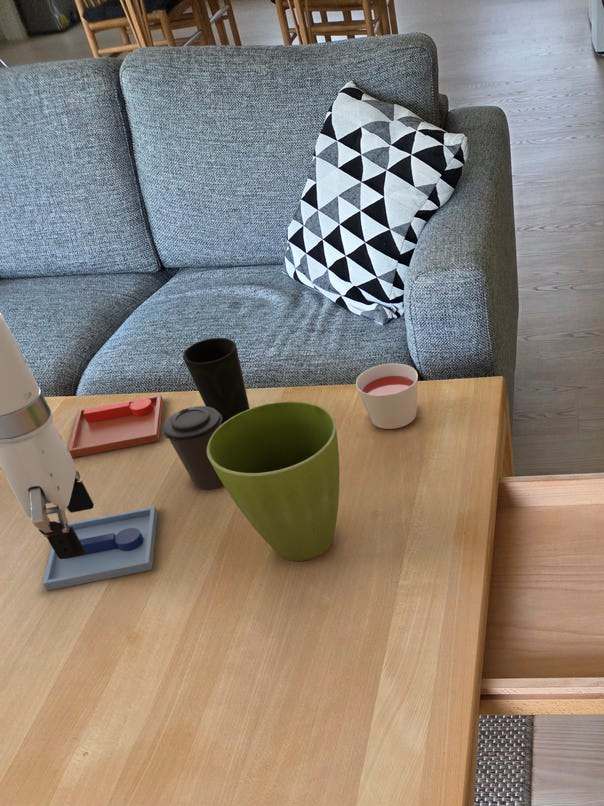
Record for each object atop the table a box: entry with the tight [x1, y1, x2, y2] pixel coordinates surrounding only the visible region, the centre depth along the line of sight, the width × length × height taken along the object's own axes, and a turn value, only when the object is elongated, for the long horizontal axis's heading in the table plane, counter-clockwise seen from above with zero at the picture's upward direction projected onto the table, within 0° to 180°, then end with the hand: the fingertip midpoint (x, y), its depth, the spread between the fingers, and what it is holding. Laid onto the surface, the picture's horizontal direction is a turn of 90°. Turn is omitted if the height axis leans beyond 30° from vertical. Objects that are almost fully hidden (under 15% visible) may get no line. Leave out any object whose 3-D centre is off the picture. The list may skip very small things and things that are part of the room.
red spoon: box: [84, 397, 153, 423], centre depth 137 cm, size 10×3×2 cm, turn 101°
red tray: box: [67, 394, 164, 459], centre depth 135 cm, size 13×12×1 cm
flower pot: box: [207, 400, 340, 562], centre depth 105 cm, size 15×15×16 cm
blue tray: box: [42, 506, 159, 591], centre depth 113 cm, size 13×12×1 cm
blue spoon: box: [65, 528, 144, 559], centre depth 113 cm, size 10×3×2 cm, turn 101°
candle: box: [355, 362, 419, 430], centre depth 128 cm, size 9×9×6 cm
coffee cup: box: [162, 405, 224, 490], centre depth 119 cm, size 8×8×10 cm
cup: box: [182, 337, 251, 425], centre depth 129 cm, size 8×8×12 cm
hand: (77, 531), depth 111 cm, fingers open, 9 cm apart
